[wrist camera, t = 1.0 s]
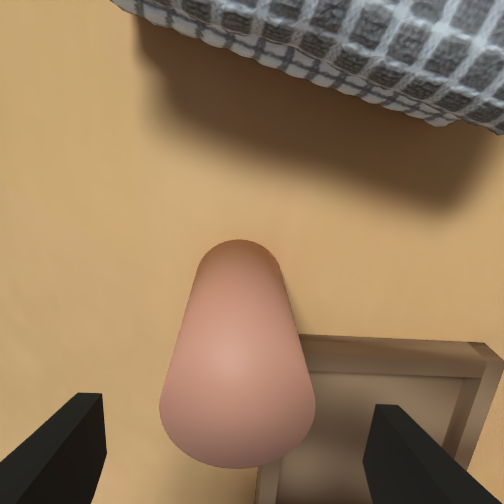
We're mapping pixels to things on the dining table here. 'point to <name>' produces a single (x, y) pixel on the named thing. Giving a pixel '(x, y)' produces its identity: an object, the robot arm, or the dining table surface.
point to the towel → (364, 48)
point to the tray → (363, 404)
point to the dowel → (237, 364)
